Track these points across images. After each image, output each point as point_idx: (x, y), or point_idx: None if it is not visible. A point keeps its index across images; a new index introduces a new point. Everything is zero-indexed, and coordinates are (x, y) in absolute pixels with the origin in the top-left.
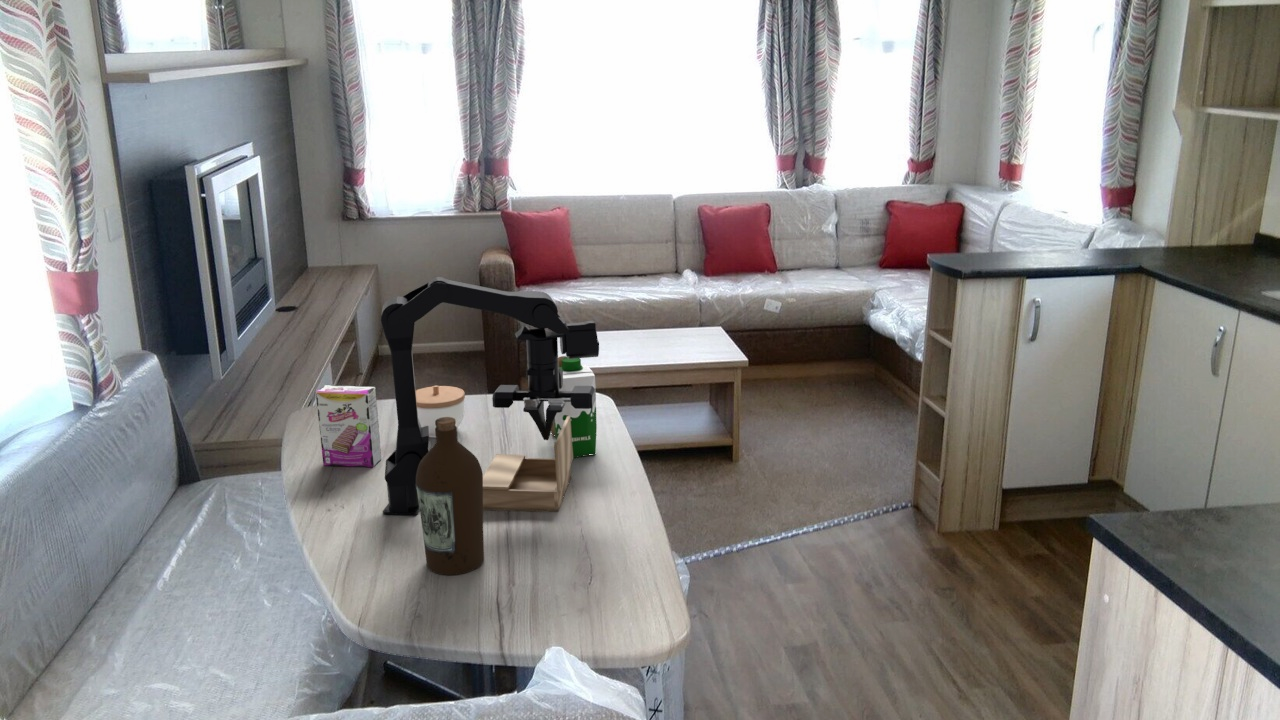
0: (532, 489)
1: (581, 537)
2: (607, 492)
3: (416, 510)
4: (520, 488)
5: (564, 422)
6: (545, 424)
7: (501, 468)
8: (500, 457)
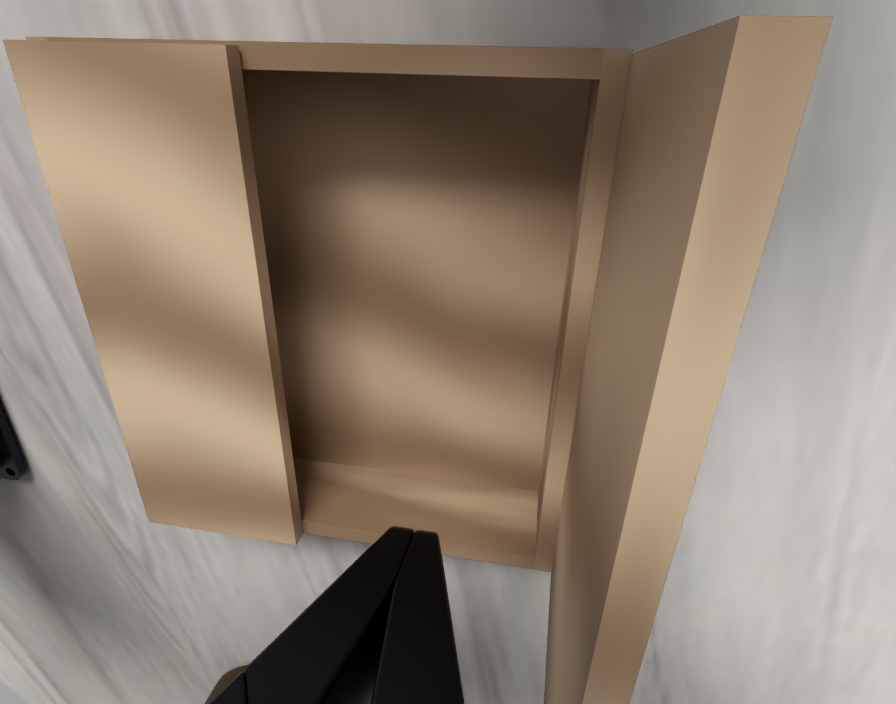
0: (395, 299)
1: (650, 668)
2: (845, 305)
3: (10, 464)
4: (328, 284)
5: (645, 441)
6: (351, 672)
7: (165, 319)
8: (67, 116)
